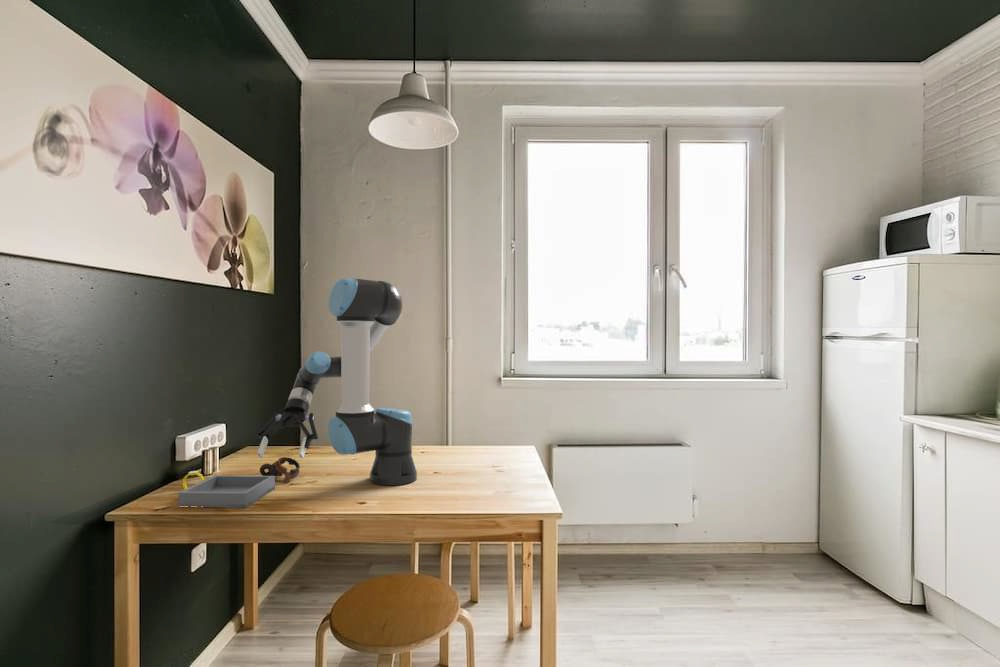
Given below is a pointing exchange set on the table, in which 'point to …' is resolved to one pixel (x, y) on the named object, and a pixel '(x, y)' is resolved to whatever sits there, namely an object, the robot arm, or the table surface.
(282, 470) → the broken clay jug
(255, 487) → the tray
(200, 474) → the watch
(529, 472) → the table surface
